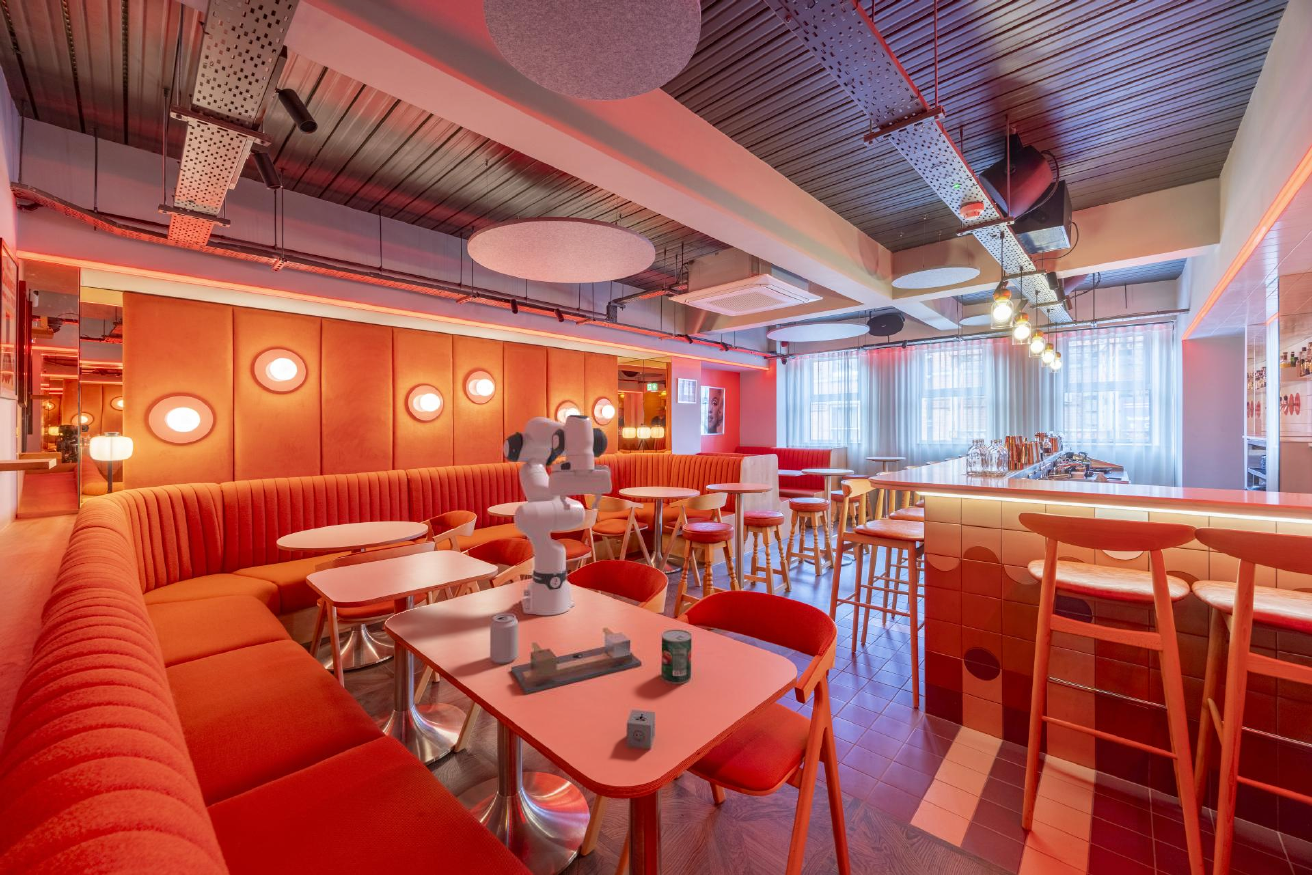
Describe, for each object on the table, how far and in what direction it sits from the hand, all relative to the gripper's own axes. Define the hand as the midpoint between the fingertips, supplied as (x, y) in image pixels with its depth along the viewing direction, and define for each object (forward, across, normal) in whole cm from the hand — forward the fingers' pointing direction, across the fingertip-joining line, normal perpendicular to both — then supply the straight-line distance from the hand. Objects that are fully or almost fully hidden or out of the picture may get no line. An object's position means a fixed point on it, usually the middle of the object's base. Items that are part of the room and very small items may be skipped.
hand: (581, 509), depth 160 cm
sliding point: (+40, -3, +15) cm, 43 cm away
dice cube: (+46, +8, +52) cm, 70 cm away
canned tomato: (+44, -13, +32) cm, 56 cm away
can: (+41, +24, +1) cm, 47 cm away
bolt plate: (+42, +8, +16) cm, 45 cm away
